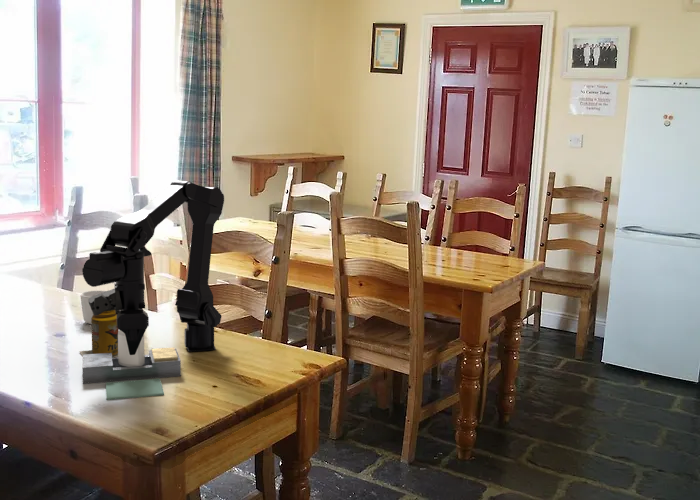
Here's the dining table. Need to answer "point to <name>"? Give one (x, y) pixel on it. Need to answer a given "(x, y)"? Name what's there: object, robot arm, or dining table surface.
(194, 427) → the dining table surface
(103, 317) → the condiment
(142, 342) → the eye dropper bottle
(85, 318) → the cup
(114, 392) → the mat
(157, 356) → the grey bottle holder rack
